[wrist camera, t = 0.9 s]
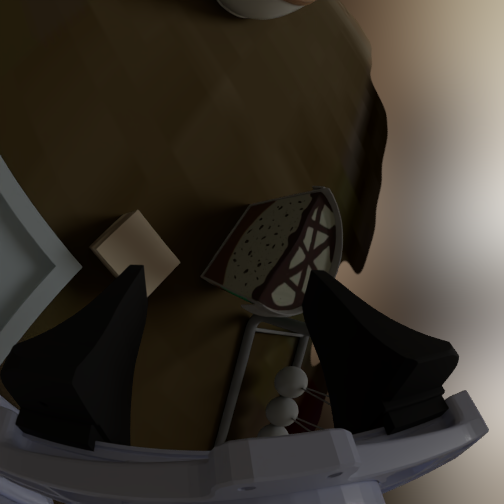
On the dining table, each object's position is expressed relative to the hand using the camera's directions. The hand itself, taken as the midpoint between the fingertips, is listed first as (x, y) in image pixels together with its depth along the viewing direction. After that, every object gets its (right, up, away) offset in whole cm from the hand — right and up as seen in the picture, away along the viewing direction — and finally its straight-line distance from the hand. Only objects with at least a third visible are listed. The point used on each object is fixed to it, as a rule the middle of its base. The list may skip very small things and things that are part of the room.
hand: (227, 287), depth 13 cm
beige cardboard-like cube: (-10, +1, +11) cm, 15 cm away
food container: (0, +1, +19) cm, 19 cm away
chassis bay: (-19, +1, +3) cm, 20 cm away
